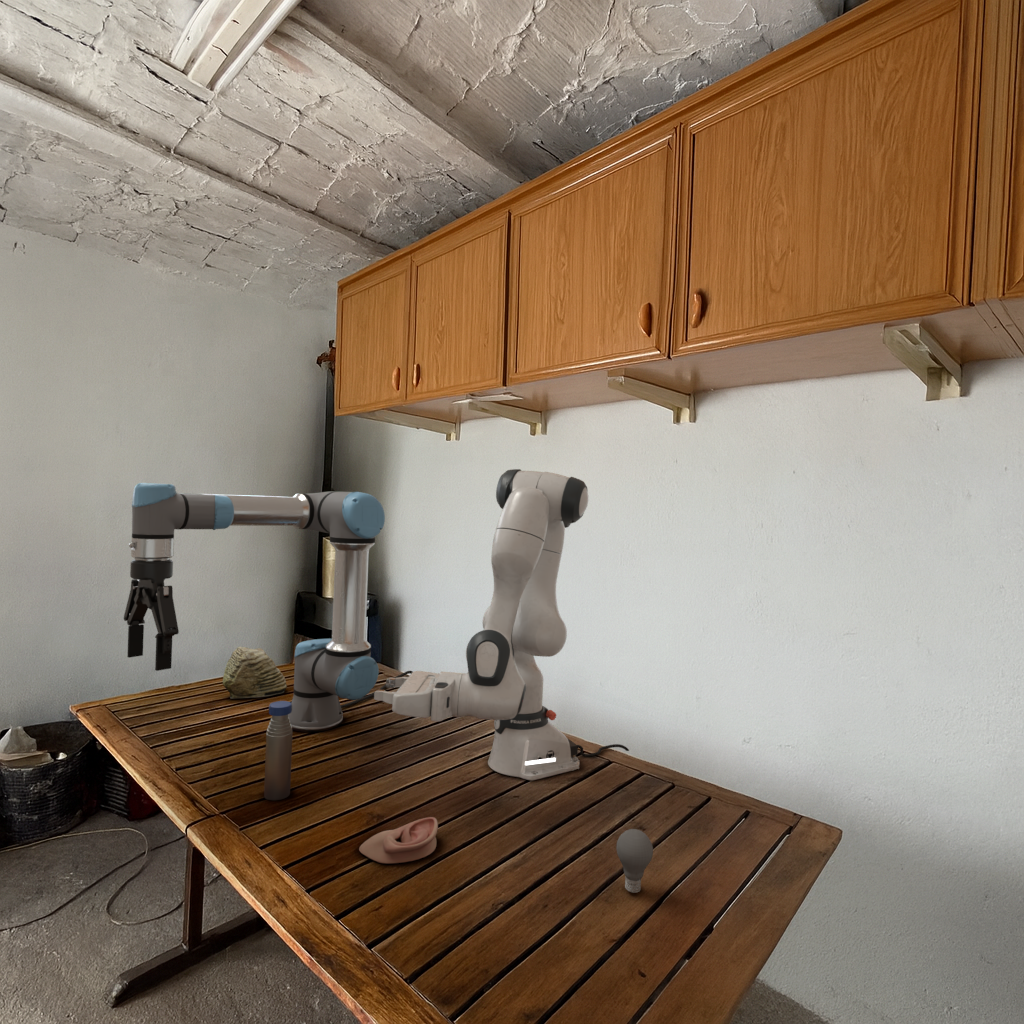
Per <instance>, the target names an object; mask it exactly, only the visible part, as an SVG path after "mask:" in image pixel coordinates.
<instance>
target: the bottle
mask: <svg viewBox="0 0 1024 1024" xmlns="http://www.w3.org/2000/svg"><path fill="white" fill-rule="evenodd" d="M265 734H266V736H265V758H264V761H265V762H264V763H265V764H264V785H263V789H264V790H263V798H264V799H265V800H268V801H280V800H284V799H287V798H289V796H290V795H291V781H292V779H291V778H292V756H293V755H292V754H293V753H292V752H293V730H292V727H291V723H290V720H289V717H288V715H284V716H273V715H271V718H270V721H269V724H268V725H267V728H266V733H265Z"/></svg>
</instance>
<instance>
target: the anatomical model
mask: <svg viewBox="0 0 1024 1024" xmlns="http://www.w3.org/2000/svg"><path fill="white" fill-rule="evenodd" d="M438 830H439V822H438V819H437V818H436V817H434V816H428V817H423V818H419V819H417V820H414V821H410V822H409V823H407V824H404V825H401V826H398V827H397V828H395V829H388V830H383V831H381V832H378V833H376V834H374V835H372V836H371V837H369V838H368V839H366V840H365V841H364V842H363V843H362V844H361V845H360V846H359V848H358V850H359V852H360V853H361V854H362V855H364V857H366V858H368V859H369V860H372V861H374V862H377V863H380V864H399V863H400V864H401V863H409V862H413V861H417V860H420V859H422V858H426V857H427V856H429V855H431V854H432V853H433V852H435V850H436V847H437V837H436V836H437V834H438Z"/></svg>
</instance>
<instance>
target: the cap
mask: <svg viewBox="0 0 1024 1024" xmlns="http://www.w3.org/2000/svg"><path fill="white" fill-rule="evenodd" d="M291 702H292V701H287V700H279V701H278V700H277V701H273V702H270V703H269V706H268V714H269V715H270V716H272V715H273V716H284V715H288V714H290V713H291V712H292V704H291Z"/></svg>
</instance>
